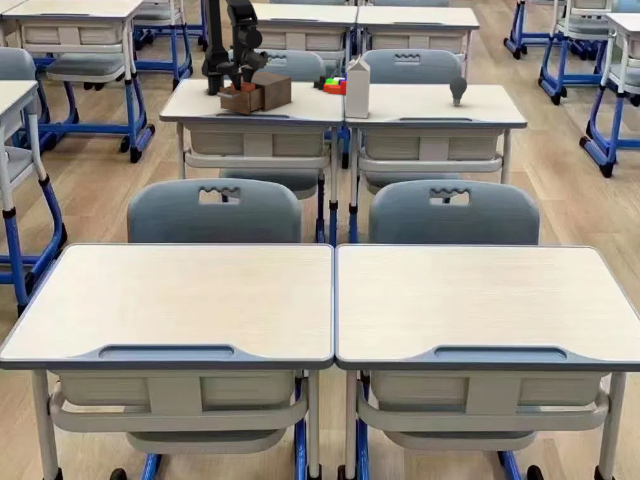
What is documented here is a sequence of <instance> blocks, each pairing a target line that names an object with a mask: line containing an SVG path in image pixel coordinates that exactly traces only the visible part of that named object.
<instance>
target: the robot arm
mask: <svg viewBox="0 0 640 480" xmlns="http://www.w3.org/2000/svg"><path fill="white" fill-rule="evenodd" d="M204 2H205V13H206V14H205V15H206V26H207V39H208V45H207V48H206V51H205V53H204V60H203V63H202V65H201V67H200V69H201V74H202V75H203V76H204V77H205V78H207V88H206V93H207V95H208V96H210V95H212V96H214V95H216V96H217V93H218V92H219V93H220V87H225V76H228V78H229V80H230V82H231V83H233V85H234V87H235V89H236V90H239V91H241V77H243V82H247V83H251V81H252V78H253V75H254V74H255V73H257V72H258V71H260V70H261V69H262V70H263V69H265V67H266V66H267V63H269V53H268V52H267V51H266V50H263V51H260V52H259V51H258V52H256V51H255V50H256V49H258V48H259V47H260V46H261V45H262V44H263V35H262V32H261V31H259V30H258V29H257V26H258V25H259V22H258V20H259V17H258V15H257V13H256V10H255V7H254V4H253V3H252V2H251V1H250V0H225V2H226V4H227V6H226V13H227V15H228V18H229V20H230V22H229V23H230V26H231V37H232V39H231V40H232V41H231V42H232V44H231V45H230V44H229V49H230V50H232V58H230V53H229V51H228V50H227V49H226V48H225V47H224V44H223V29H222V17H221V15H222V14H221V2H220V0H204Z"/></svg>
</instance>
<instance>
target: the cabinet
mask: <svg viewBox="0 0 640 480" xmlns="http://www.w3.org/2000/svg"><path fill="white" fill-rule="evenodd" d="M241 81H242V82H243V77H241ZM251 83H252V84H255V86H258V87H263V104H264V107H262V108H259V109H256V110H255V111H261V112H268V111H272V110H274V109H276V108H280V107H282V106H285V105H288V104H290V103H292V77H291V76H288V75H284V74H278V73H273V72H268V71H264V70H262V71H257V72H255V73H254V75H253V78H252V81H251Z"/></svg>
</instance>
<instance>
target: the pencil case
mask: <svg viewBox="0 0 640 480" xmlns="http://www.w3.org/2000/svg"><path fill="white" fill-rule="evenodd" d="M230 86H231V89H234V90H236V89H235V87H234V85H233V83H232V82H230ZM252 90H255V84H252V83H247V82H242V81H241V91H244V92H249V91H252Z"/></svg>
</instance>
